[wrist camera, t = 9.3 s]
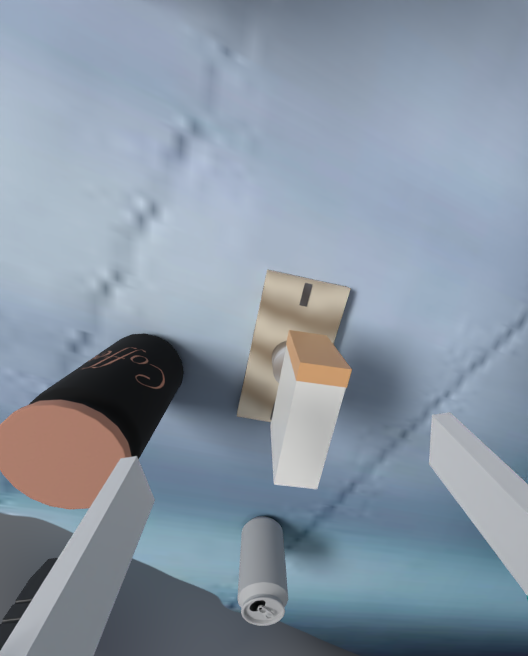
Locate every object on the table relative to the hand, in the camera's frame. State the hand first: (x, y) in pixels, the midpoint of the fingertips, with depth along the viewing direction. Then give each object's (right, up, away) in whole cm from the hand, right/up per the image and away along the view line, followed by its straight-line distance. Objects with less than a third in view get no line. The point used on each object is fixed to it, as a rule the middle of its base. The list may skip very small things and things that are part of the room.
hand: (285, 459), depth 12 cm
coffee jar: (-18, +1, +27) cm, 32 cm away
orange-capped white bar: (+3, +1, +21) cm, 21 cm away
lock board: (+3, +2, +27) cm, 27 cm away
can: (-1, -31, +37) cm, 48 cm away
